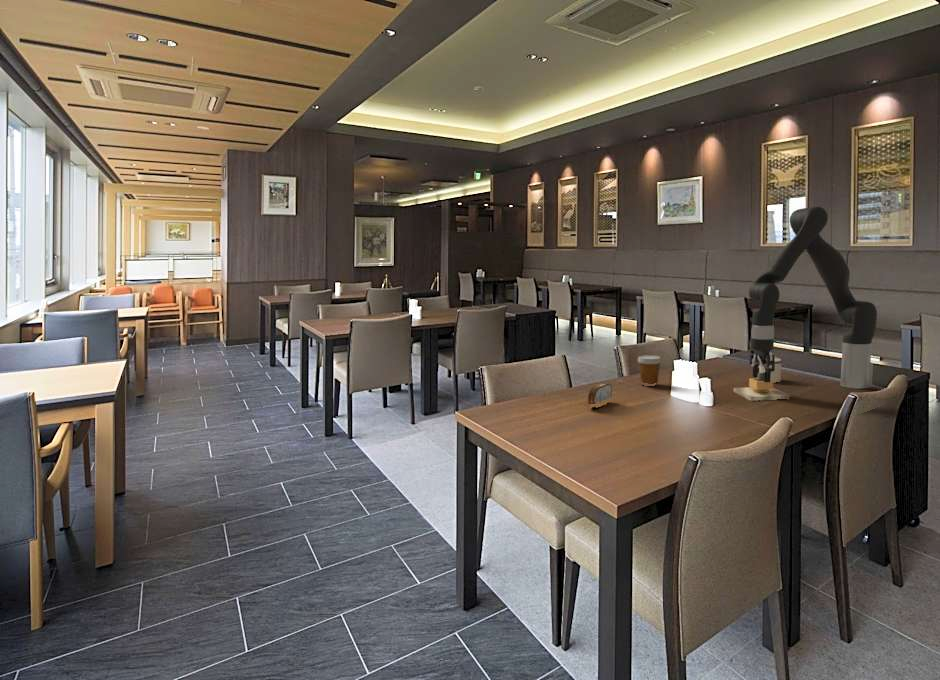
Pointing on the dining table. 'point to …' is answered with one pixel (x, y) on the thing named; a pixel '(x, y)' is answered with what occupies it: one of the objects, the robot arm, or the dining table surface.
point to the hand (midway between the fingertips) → (761, 379)
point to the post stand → (761, 392)
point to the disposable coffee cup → (649, 368)
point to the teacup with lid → (774, 374)
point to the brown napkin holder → (599, 393)
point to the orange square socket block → (760, 384)
